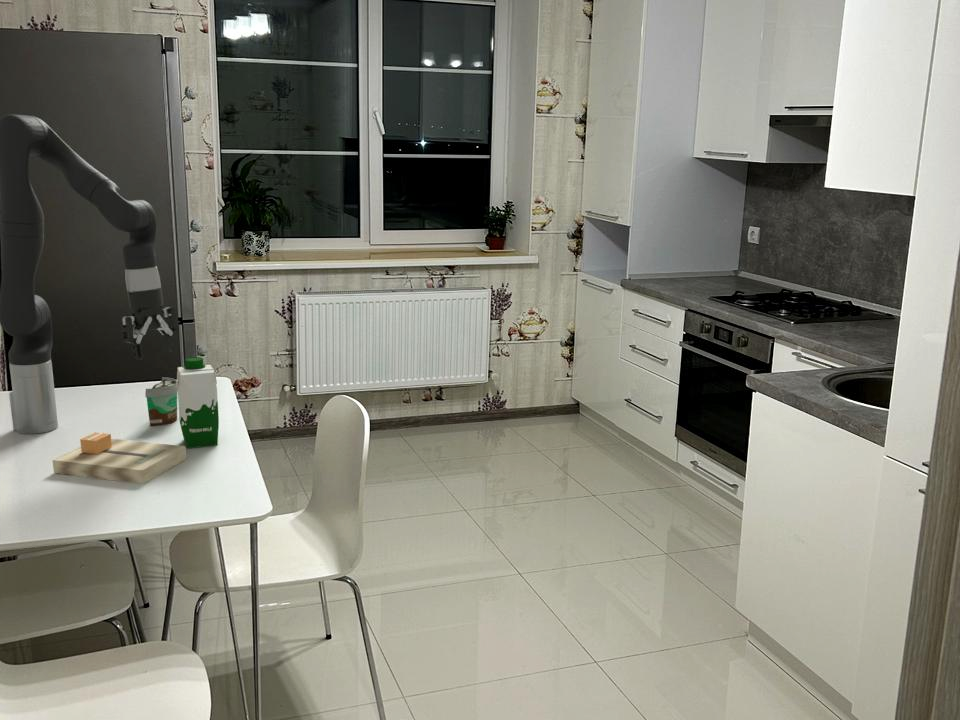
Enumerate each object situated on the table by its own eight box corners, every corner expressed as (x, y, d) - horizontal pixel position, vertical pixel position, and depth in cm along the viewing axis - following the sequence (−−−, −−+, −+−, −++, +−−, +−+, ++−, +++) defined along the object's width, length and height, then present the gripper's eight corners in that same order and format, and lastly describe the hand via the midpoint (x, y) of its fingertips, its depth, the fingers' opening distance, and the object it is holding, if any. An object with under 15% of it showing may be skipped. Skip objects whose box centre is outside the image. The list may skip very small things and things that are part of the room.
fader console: (53, 473, 196) (52, 459, 195) (101, 449, 211) (100, 436, 210) (143, 483, 190) (142, 469, 190) (186, 458, 206) (185, 445, 205)
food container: (172, 428, 227) (169, 389, 225) (147, 427, 227) (144, 389, 225) (188, 413, 239) (186, 377, 237) (165, 413, 239) (162, 376, 237)
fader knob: (81, 452, 200) (80, 438, 199) (96, 445, 204) (95, 432, 203) (97, 454, 199) (96, 440, 198) (111, 446, 203) (110, 433, 203)
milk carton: (216, 434, 222) (212, 355, 218) (222, 446, 214) (217, 363, 210) (179, 439, 219) (173, 358, 214) (183, 450, 211) (177, 367, 206)
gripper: (157, 282, 219) (167, 348, 223) (107, 291, 207) (118, 361, 211) (179, 282, 216) (188, 349, 219) (129, 292, 204) (140, 362, 207)
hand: (154, 355), depth 215 cm, fingers open, 8 cm apart
